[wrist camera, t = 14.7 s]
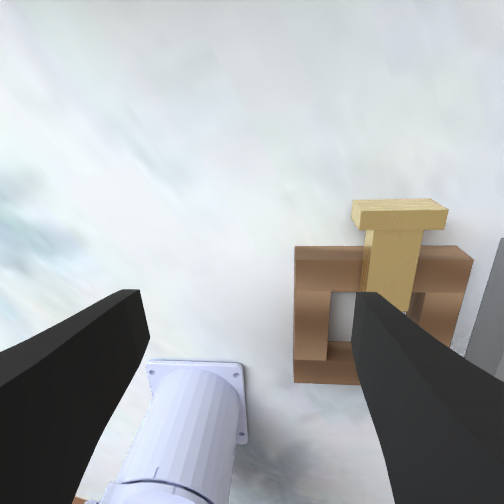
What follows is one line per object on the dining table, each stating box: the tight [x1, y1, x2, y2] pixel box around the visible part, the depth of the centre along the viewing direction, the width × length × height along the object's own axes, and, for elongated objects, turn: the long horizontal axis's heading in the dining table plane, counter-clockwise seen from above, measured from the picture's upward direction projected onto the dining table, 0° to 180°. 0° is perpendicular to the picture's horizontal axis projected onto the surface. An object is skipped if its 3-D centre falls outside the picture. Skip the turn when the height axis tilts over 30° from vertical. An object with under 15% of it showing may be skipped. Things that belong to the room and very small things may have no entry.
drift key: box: [351, 199, 448, 312], centre depth 17 cm, size 6×4×2 cm, turn 2°
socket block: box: [293, 246, 474, 385], centre depth 21 cm, size 10×10×2 cm
